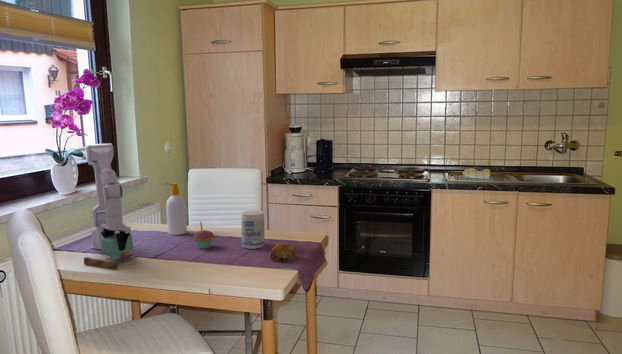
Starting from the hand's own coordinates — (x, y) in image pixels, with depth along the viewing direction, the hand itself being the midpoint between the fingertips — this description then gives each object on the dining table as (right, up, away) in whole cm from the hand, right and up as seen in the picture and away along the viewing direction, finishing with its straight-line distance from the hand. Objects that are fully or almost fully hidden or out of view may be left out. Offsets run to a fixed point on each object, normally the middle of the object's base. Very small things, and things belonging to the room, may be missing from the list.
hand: (116, 249), depth 183 cm
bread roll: (+65, -4, +1) cm, 65 cm away
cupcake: (+30, -2, +17) cm, 35 cm away
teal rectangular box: (0, -1, +1) cm, 2 cm away
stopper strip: (-3, -5, -7) cm, 9 cm away
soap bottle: (+12, +1, +40) cm, 42 cm away
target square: (0, -4, +1) cm, 4 cm away
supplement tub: (+51, -2, +17) cm, 54 cm away
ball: (+2, -2, +3) cm, 4 cm away
